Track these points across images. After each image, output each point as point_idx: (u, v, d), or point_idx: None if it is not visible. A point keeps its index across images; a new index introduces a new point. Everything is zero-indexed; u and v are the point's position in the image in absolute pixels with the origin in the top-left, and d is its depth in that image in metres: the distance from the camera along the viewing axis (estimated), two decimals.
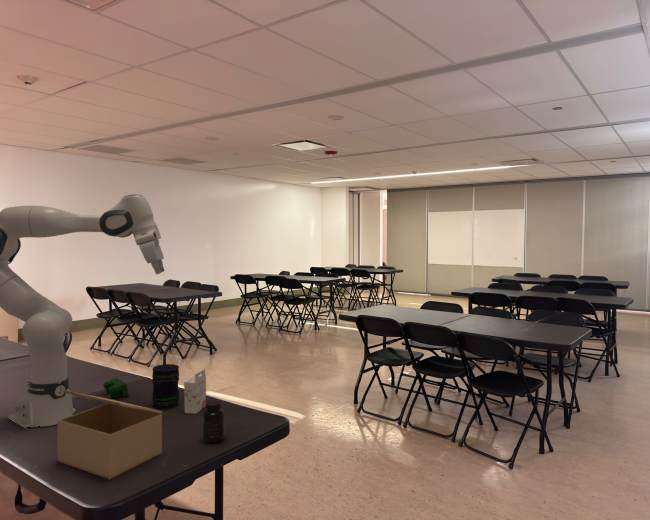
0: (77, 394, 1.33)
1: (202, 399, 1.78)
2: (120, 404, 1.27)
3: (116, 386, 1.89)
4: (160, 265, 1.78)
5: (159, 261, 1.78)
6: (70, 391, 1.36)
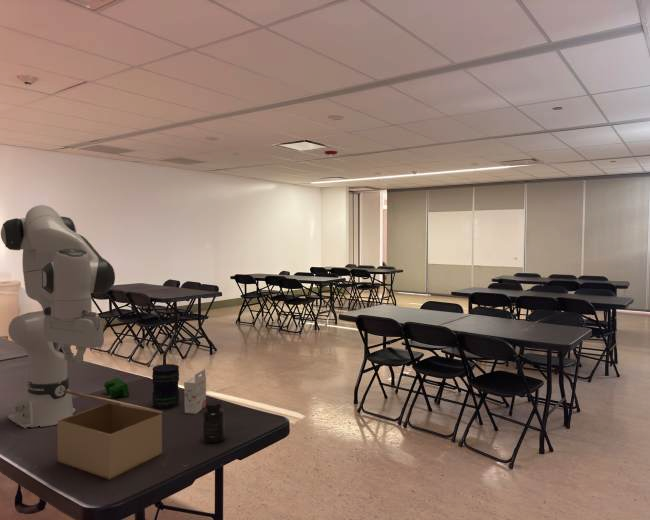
0: (77, 394, 1.33)
1: (202, 399, 1.78)
2: (120, 404, 1.27)
3: (117, 386, 1.90)
4: None
5: None
6: (70, 391, 1.36)
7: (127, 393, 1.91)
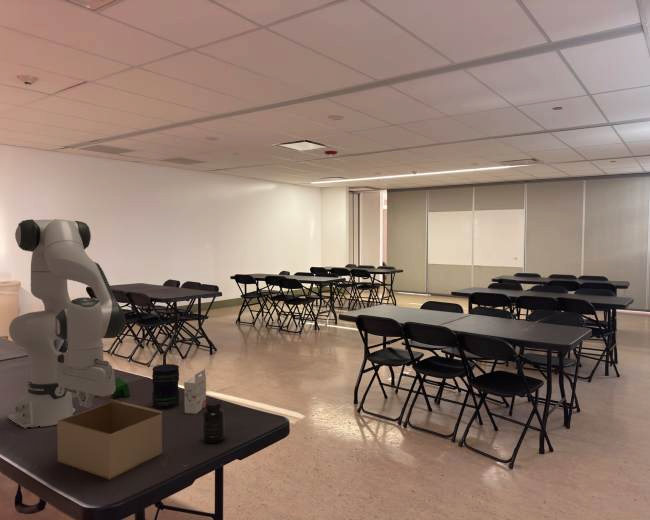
0: None
1: (202, 399, 1.78)
2: (121, 402, 1.27)
3: (117, 386, 1.90)
4: None
5: None
6: None
7: (128, 393, 1.91)
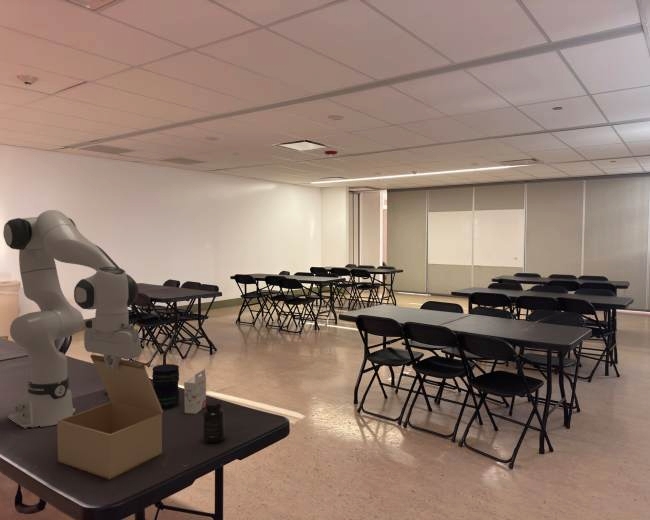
0: None
1: (202, 399, 1.78)
2: (144, 368, 1.34)
3: None
4: None
5: None
6: None
7: None
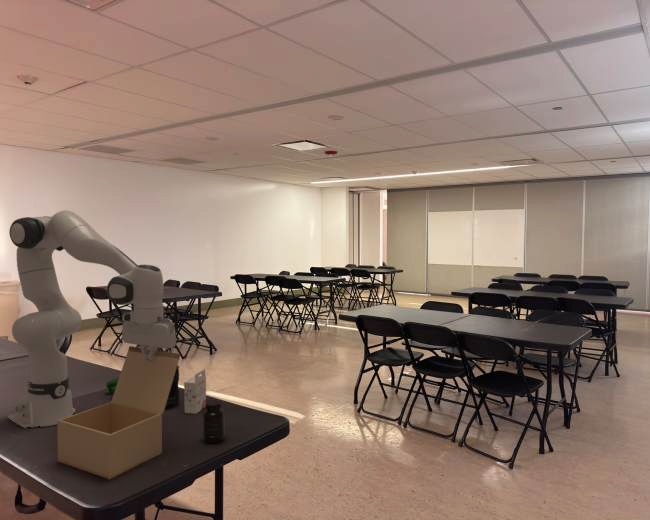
0: None
1: (202, 399, 1.78)
2: (178, 359, 1.46)
3: None
4: None
5: None
6: None
7: None
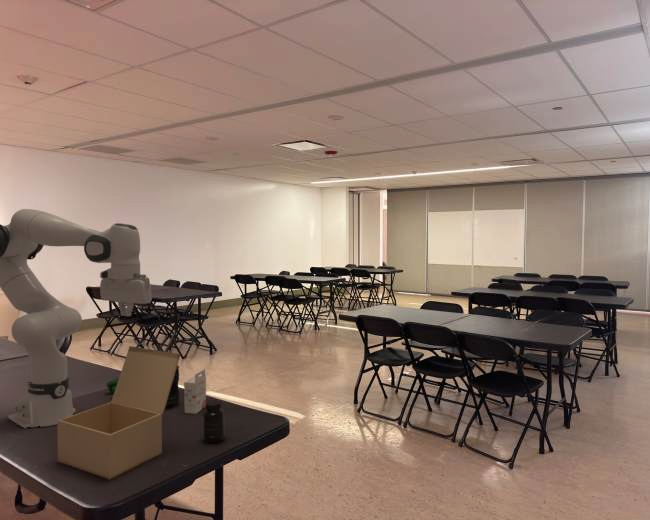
0: None
1: (202, 399, 1.78)
2: (178, 359, 1.46)
3: None
4: None
5: None
6: None
7: None
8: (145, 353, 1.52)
